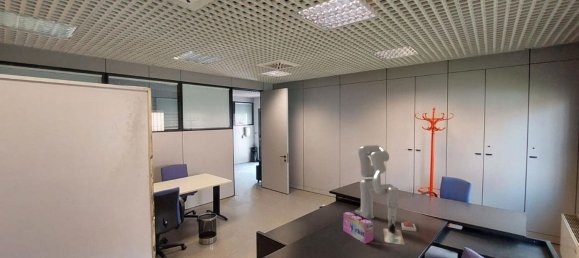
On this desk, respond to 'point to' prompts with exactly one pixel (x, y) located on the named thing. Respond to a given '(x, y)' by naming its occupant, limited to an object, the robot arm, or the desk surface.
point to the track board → (393, 236)
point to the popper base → (408, 227)
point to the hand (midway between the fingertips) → (391, 229)
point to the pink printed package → (358, 226)
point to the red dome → (408, 224)
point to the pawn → (389, 227)
